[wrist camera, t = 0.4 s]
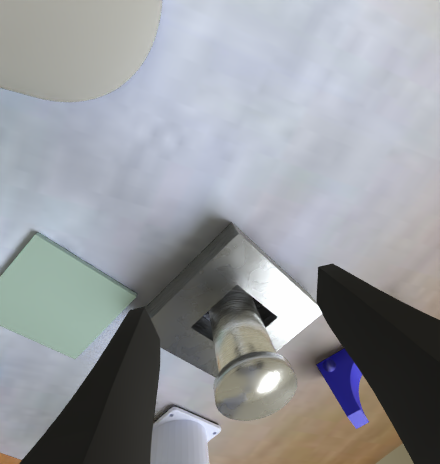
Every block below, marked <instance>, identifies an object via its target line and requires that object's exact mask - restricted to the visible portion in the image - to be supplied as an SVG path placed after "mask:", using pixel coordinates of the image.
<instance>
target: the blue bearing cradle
mask: <svg viewBox="0 0 440 464" xmlns="http://www.w3.org/2000/svg"><path fill="white" fill-rule="evenodd" d="M317 367H318V369H319V370H320V372H321V374H322V375H323V377H324V379H325V380H326V382H327V384H328V385H329V387H330V389H331V390H332V392H333V394H334V395H335V397H336V399H337V400H338V402H339V404H340V405H341V407H342V409H343V410H344V412H345V414H346V415H347V417H348V418H349V420H350V421H351V422H352V424H353V425H354V426H355V428H356V429H357V428H359V427H361V426H363V425H365V424H366V423H368V422H369V421H368V419H367V418H366V416H365V414H364V412H363V410H362V407H361V404H360V400H359V392H358V391H359V382H360V378H361V376H362V373H361V372H360V370H359V369H358V367H357V366H356V364H355V363H354V361H353V360H352V359H351V357H350V356H349V354H348V353H347V351H346V350H345V348H344V349H342V350H340V351H339V352H337V353H335V354H334V355H332V356H330V357H329V358H327V359H325V360H323V361H322V362H320V363H318V364H317Z"/></svg>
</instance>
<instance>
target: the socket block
mask: <svg viewBox="0 0 440 464" xmlns="http://www.w3.org/2000/svg"><path fill="white" fill-rule="evenodd" d="M236 285H238V286H240V287H241V288H242V289H243V290H245V291H246V292H247V293H248V294H250V295H251V296H252V297H253V298H255V299H256V300H257V301H258V302H260V303H261V304H262V306H261V307H260V308H259V309H258V312H259V315H260V317H261V319H262V321H263V323H264V326H265V328H266V330H267V332H268V334H269V337H270V339H271V341H272V343H273V346H274V348H275V350H276V351H278V350H279V349H280V348H281V347H282V346H284V345H285V344H286V343H287V342H288V341H290V340H291V339H292V338H293V337H294V336H296V335H297V334H298V333H299V332H300V331H302V330H303V329H304V328H305V327H306V326H308V325H309V324H310V323H311V322H312V321H314V320H315V319H316V318H317V317H318V316H320V315H321V314H322V312H321V310H320V308H319V306H318V304H317V303H316V301H315V300H314V299H313V298H312V297H311V295H310V294H309V293H307V292H306V291H305V290H304V289H303V288H302V287H301V286H300V285H299V284H298V283H297V282H296V281H295V280H294V279H292V278H291V277H290V276H289V275H288V274H287V273H286V272H285V271H284V270H283V269H282V268H281V267H280V266H278V265H277V264H276V263H275V262H274V261H273V260H272V259H271V258H270V257H269V256H268V255H267V254H266V253H264V252H263V251H262V250H261V249H260V248H259V247H258V246H257V245H256V244H255V243H254V242H253V241H252V240H250V239H249V238H248V237H247V236H246V235H245V234H244V233H243V232H242V231H241V230H240V229H239V228H238V227H236V226H235V225H234V224H233V223H231V224H230V225H229V226H228V227H227V228H226V229H225V230H224V231H223V232H222V233H221V234H220V235H218V236H217V237H216V238H215V239H214V240H213V241H212V242H211V243H210V244H209V245H208V246H207V247H206V248H205V249H204V250H203V251H202V252H201V253H200V254H199V255H198V256H197V257H196V258H195V259H194V260H193V261H192V262H191V263H190V264H189V265H188V266H187V267H186V268H185V269H184V270H183V271H182V272H181V273H180V274H179V275H178V276H177V277H176V278H175V279H174V280H173V281H172V282H171V283H170V284H169V285H168V286H167V287H166V288H165V289H164V290H163V291H162V292H161V293H160V294H159V295H158V296H157V297H156V298H155V299H154V300H153V301H152V302H151V303H150V304H149V305H148V306H147V307H146V310H147V312H148V314H149V316H150V319H151V321H152V323H153V325H154V327H155V329H156V331H157V334H158V336H159V338H160V347H161V348H163V349H164V350H166V351H168V352H170V353H172V354H174V355H175V356H177V357H179V358H181V359H183V360H185V361H186V362H188V363H190V364H192V365H194V366H196V367H197V368H199V369H201V370H203V371H205V372H207V373H208V374H210V375H212V376H214V377H217V375H218V373H219V372H218V366H217V360H216V354H215V348H214V342H213V336H212V330H211V324H210V321H208V320H207V319H205V318H204V317H202V316H203V315H204V314H206V313H207V312H208V311H209V310H210V309H211V308H212V307H213V306H214V305H215V304H216V303H217V302H218V301H220V300H221V299H222V298H223V297H224V296H225V295H226V294H227V293H228V292H229V291H230V290H231V289H233V288H234V287H235V286H236Z"/></svg>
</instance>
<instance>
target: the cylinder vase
mask: <svg viewBox="0 0 440 464" xmlns="http://www.w3.org/2000/svg"><path fill="white" fill-rule="evenodd" d="M161 10H162V0H0V88H3V89H7V90H10V91H14V92H17V93H21V94H25V95H28V96H32V97H36V98H40V99H44V100H49V101H57V102H80V101H87V100H92V99H95V98H99V97H102V96H104V95H106V94H109V93H111V92H112V91H114V90H116V89H118V88H119V87H121V86H122V85H123V84H125V83H126V82H127V81H128V80H129V79H130V78H131V77H132V76H133V75H134V74H135V73H136V72H137V71H138V69H139V68H140V67H141V65H142V64H143V62H144V61H145V59H146V57H147V55H148V54H149V52H150V50H151V47H152V45H153V42H154V40H155V37H156V34H157V30H158V26H159V22H160V16H161Z"/></svg>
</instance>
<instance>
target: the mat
mask: <svg viewBox="0 0 440 464" xmlns="http://www.w3.org/2000/svg"><path fill="white" fill-rule="evenodd" d="M136 297H137V294H136V293H135V292H133V291H131V290H130V289H128V288H127V287H125V286H123V285H122V284H120V283H119V282H117V281H115V280H114V279H112V278H111V277H109V276H107V275H106V274H104V273H103V272H101V271H99V270H98V269H96V268H95V267H93V266H91V265H90V264H88V263H86V262H85V261H83V260H82V259H80V258H78V257H77V256H75V255H74V254H72V253H70V252H69V251H67V250H66V249H64V248H62V247H61V246H59V245H58V244H56V243H54V242H53V241H51V240H50V239H48V238H46V237H45V236H43V235H42V234H40V233H37V234H35V235H34V236H33V238H32V239H31V240H30V241H29V243H28V244H27V245H26V246H25V247H24V249H23V250H22V251H21V252H20V253H19V255H18V256H17V257H16V258H15V260H14V261H13V262H12V263H11V264H10V266H9V267H8V268H7V269H6V270H5V272H4V273H3V274H2V275H1V277H0V326H2V327H4V328H6V329H8V330H11V331H13V332H15V333H17V334H20V335H22V336H24V337H26V338H29V339H31V340H33V341H35V342H38V343H40V344H42V345H44V346H47V347H49V348H51V349H53V350H55V351H58V352H60V353H62V354H64V355H67V356H69V357H71V358H73V359H76V358H77V357H78V356H79V355H80V354H81V353H82V352H83V351H84V350H85V349H86V348H87V347H88V346H89V345H90V344H91V343H92V342H93V341H94V340H95V339H96V338H97V337H98V336H99V335H100V334H101V333H102V332H103V331H104V330H105V329H106V328H107V326H108V325H109V324H110V323H111V322H112V321H113V320H114V319H115V318H116V317H117V316H118V315H119V314H120V313H121V312H122V311H123V310H124V309H125V308H126V307H127V306H128V305H129V304H130V303H131V302H132V301H133V300H134V299H135V298H136Z"/></svg>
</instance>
